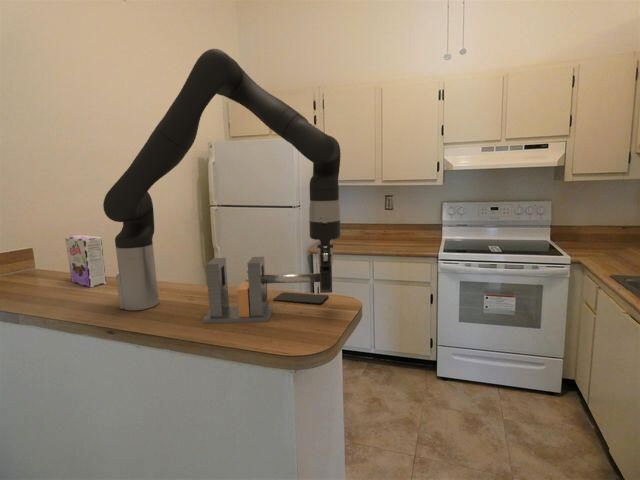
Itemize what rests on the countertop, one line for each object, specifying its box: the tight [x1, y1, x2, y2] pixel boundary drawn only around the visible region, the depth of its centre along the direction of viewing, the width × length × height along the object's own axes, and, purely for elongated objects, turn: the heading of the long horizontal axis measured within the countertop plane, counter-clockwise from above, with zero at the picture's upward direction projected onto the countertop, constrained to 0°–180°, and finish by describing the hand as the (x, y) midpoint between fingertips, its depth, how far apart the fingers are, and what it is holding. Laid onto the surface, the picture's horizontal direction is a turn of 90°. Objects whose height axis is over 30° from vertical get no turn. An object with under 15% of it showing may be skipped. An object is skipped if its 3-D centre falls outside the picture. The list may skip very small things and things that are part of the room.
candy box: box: [65, 234, 107, 288], centre depth 132 cm, size 14×6×16 cm, turn 55°
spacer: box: [236, 281, 251, 317], centre depth 97 cm, size 2×7×7 cm, turn 0°
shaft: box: [262, 264, 333, 294], centre depth 96 cm, size 18×3×7 cm, turn 90°
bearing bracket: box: [202, 256, 274, 324], centre depth 97 cm, size 16×9×14 cm, turn 90°
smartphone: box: [273, 292, 329, 306], centre depth 110 cm, size 7×1×15 cm
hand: (326, 286), depth 96 cm, fingers closed on shaft, 3 cm apart
